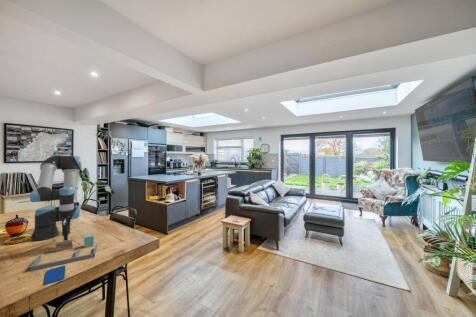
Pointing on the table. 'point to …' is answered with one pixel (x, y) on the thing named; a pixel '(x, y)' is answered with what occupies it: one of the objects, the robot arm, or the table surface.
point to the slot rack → (76, 258)
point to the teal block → (89, 240)
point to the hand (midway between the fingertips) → (66, 244)
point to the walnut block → (63, 245)
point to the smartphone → (54, 275)
